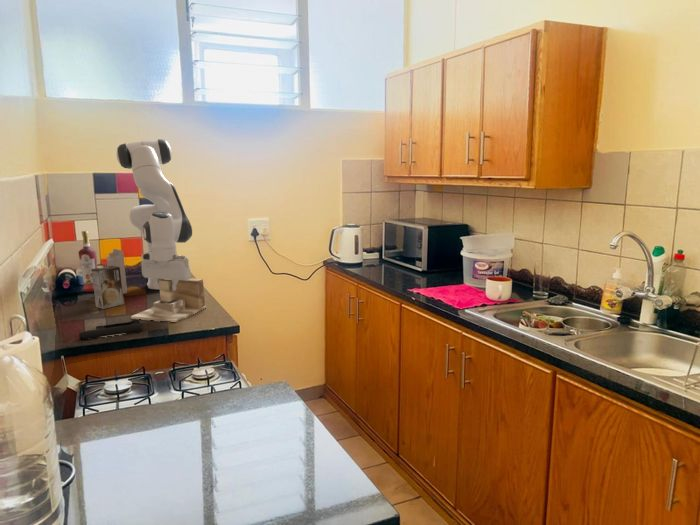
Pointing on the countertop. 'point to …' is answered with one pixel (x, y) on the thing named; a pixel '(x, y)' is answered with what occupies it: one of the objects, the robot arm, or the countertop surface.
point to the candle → (118, 265)
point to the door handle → (112, 330)
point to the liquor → (87, 262)
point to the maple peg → (166, 290)
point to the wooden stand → (177, 303)
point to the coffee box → (107, 287)
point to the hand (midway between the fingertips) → (167, 289)
